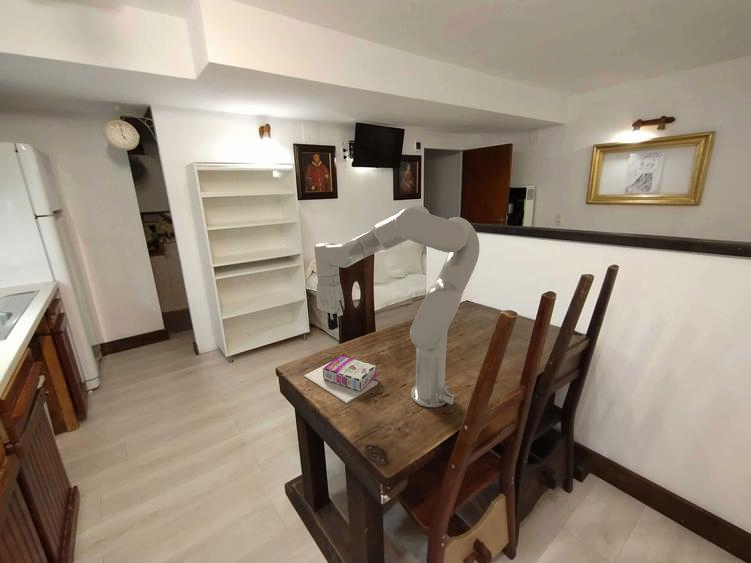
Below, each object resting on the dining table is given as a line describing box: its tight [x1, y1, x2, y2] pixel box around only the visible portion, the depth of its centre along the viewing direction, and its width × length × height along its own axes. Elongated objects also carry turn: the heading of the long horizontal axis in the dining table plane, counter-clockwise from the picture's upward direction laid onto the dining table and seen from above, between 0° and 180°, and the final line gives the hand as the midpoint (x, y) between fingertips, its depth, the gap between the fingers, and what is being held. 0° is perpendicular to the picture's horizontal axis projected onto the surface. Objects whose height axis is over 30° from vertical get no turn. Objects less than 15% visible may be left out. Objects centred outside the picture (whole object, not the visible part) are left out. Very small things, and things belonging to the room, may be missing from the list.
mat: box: [303, 361, 379, 404], centre depth 120 cm, size 24×15×1 cm, turn 47°
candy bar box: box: [323, 355, 377, 392], centre depth 119 cm, size 11×5×16 cm
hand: (333, 328), depth 116 cm, fingers closed
